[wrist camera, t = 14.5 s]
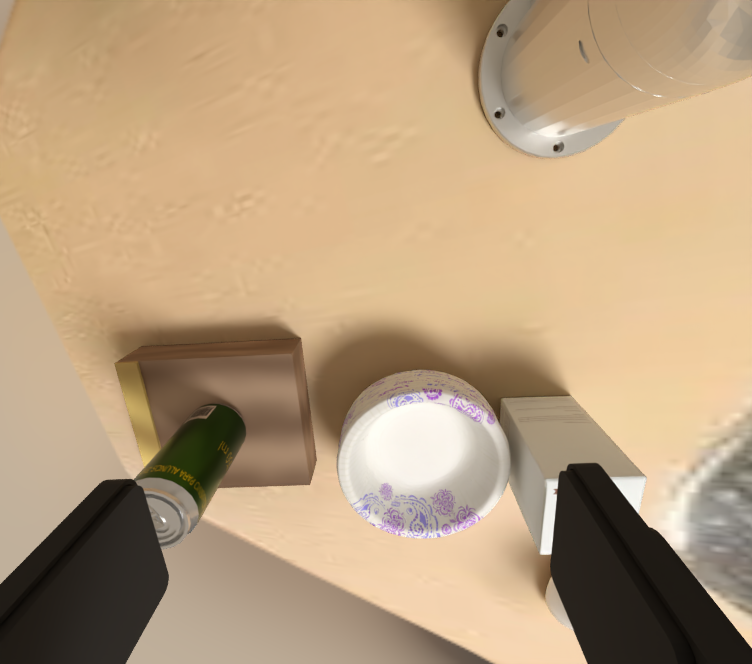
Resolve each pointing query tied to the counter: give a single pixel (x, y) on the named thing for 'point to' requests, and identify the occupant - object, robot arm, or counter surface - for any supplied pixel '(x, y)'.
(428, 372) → the paper bowls
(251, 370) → the gold striped gift box
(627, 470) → the supplement box
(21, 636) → the robot arm
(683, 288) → the counter surface
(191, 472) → the beer can
